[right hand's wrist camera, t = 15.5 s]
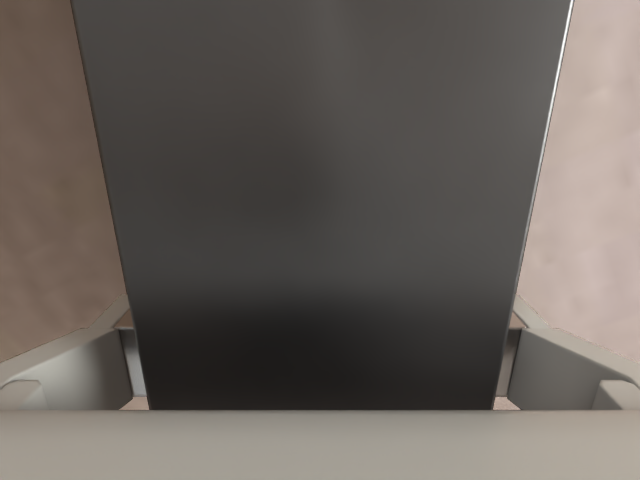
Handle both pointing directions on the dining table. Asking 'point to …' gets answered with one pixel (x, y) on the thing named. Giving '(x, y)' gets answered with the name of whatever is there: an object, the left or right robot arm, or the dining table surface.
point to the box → (321, 192)
